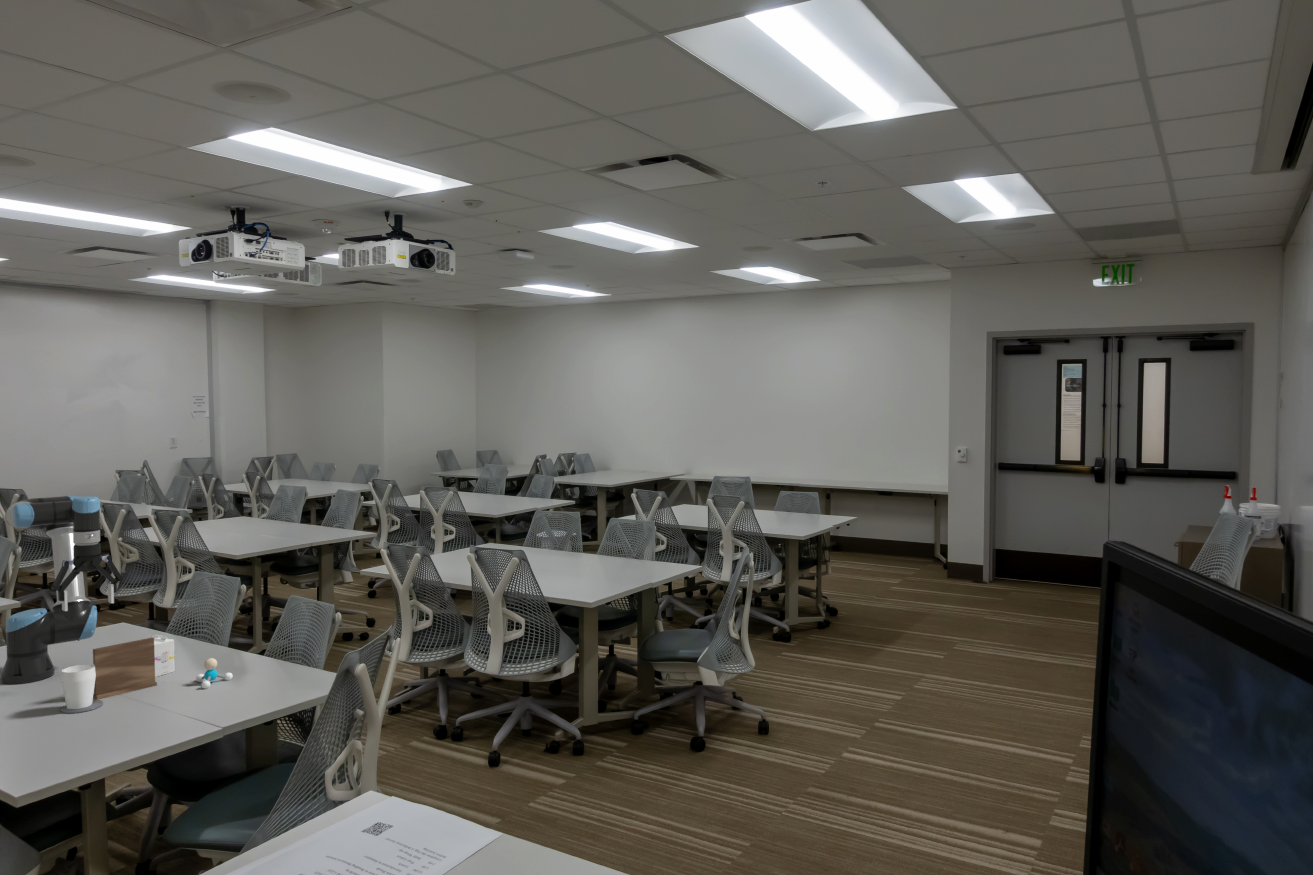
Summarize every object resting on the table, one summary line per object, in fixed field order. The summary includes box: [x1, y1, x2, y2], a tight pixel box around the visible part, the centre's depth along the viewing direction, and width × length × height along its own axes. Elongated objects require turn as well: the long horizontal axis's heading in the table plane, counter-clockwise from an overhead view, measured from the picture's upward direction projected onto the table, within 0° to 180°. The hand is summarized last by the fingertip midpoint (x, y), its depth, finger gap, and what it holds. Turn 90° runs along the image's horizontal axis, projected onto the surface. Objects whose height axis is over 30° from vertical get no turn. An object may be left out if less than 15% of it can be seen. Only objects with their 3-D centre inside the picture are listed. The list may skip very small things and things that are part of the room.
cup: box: [61, 663, 96, 710], centre depth 271 cm, size 9×9×12 cm
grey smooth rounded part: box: [60, 699, 104, 715], centre depth 272 cm, size 11×11×1 cm
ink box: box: [149, 634, 176, 678], centre depth 307 cm, size 9×8×13 cm
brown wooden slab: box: [92, 636, 158, 700], centre depth 287 cm, size 4×18×16 cm, turn 143°
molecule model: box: [195, 657, 234, 690], centre depth 296 cm, size 12×12×9 cm
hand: (88, 606), depth 287 cm, fingers open, 13 cm apart
